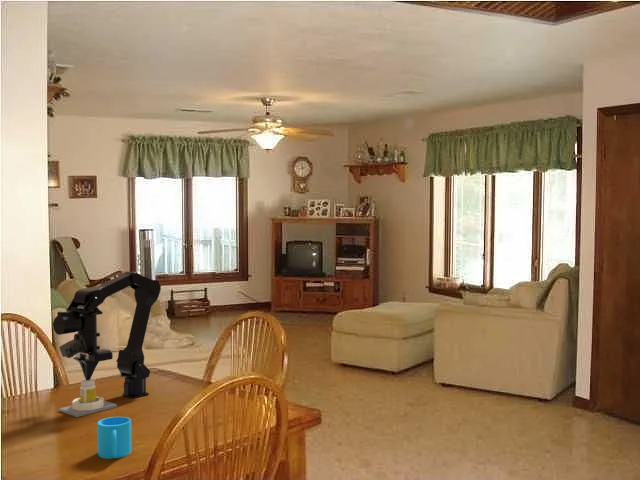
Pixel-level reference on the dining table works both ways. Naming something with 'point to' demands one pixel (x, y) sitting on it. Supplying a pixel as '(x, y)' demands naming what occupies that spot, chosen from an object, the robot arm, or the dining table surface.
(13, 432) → the dining table surface
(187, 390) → the dining table surface
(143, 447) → the dining table surface
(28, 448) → the dining table surface
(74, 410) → the holder board
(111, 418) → the mug
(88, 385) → the supplement bottle
